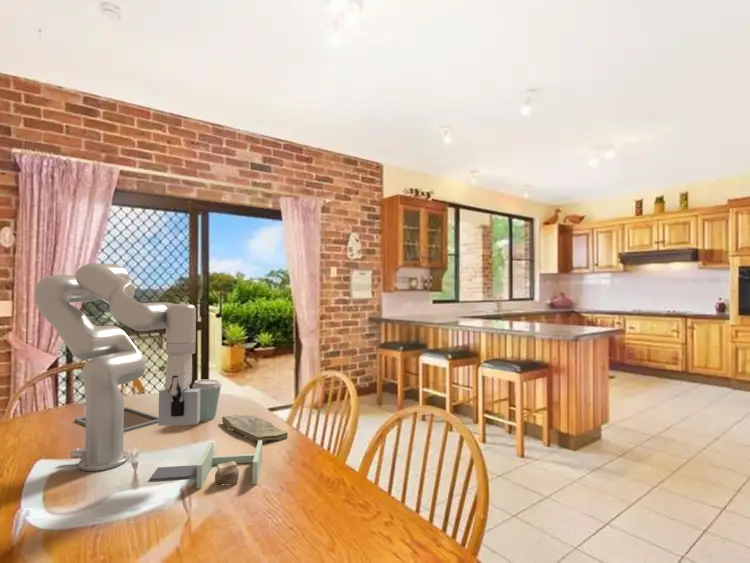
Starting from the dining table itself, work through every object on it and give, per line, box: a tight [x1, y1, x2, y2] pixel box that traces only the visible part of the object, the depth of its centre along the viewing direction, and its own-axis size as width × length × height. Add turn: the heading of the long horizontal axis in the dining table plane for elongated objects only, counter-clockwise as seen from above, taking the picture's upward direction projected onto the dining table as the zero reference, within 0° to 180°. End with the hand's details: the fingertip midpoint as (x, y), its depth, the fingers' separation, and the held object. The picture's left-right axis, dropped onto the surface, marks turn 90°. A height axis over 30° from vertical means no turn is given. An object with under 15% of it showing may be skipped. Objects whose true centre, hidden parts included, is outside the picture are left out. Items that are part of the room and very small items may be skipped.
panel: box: [148, 464, 197, 482], centre depth 118 cm, size 13×7×1 cm, turn 100°
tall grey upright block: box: [157, 388, 200, 427], centre depth 118 cm, size 10×4×9 cm, turn 100°
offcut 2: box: [214, 468, 240, 486], centre depth 113 cm, size 6×3×3 cm, turn 101°
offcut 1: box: [216, 461, 238, 476], centre depth 113 cm, size 4×3×2 cm, turn 126°
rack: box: [196, 440, 263, 489], centre depth 119 cm, size 15×16×6 cm
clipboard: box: [74, 406, 159, 433], centre depth 162 cm, size 19×2×30 cm
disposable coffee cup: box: [192, 379, 222, 422], centre depth 166 cm, size 11×11×15 cm
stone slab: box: [221, 414, 288, 444], centre depth 153 cm, size 12×4×30 cm
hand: (179, 413), depth 118 cm, fingers closed on tall grey upright block, 3 cm apart
